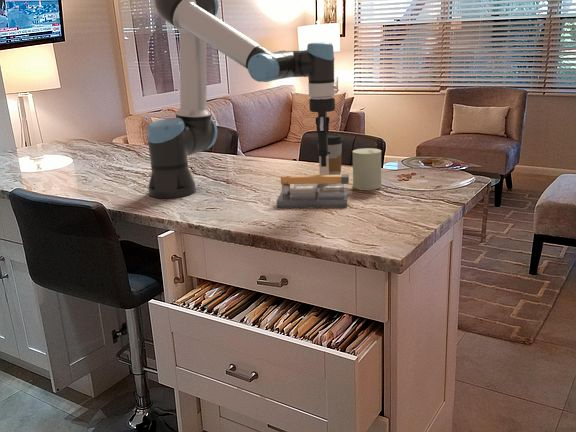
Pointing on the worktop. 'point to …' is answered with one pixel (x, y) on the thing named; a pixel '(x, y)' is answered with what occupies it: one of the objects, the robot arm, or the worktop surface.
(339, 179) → the bar
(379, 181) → the can
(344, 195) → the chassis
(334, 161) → the coffee cup
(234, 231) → the worktop surface
